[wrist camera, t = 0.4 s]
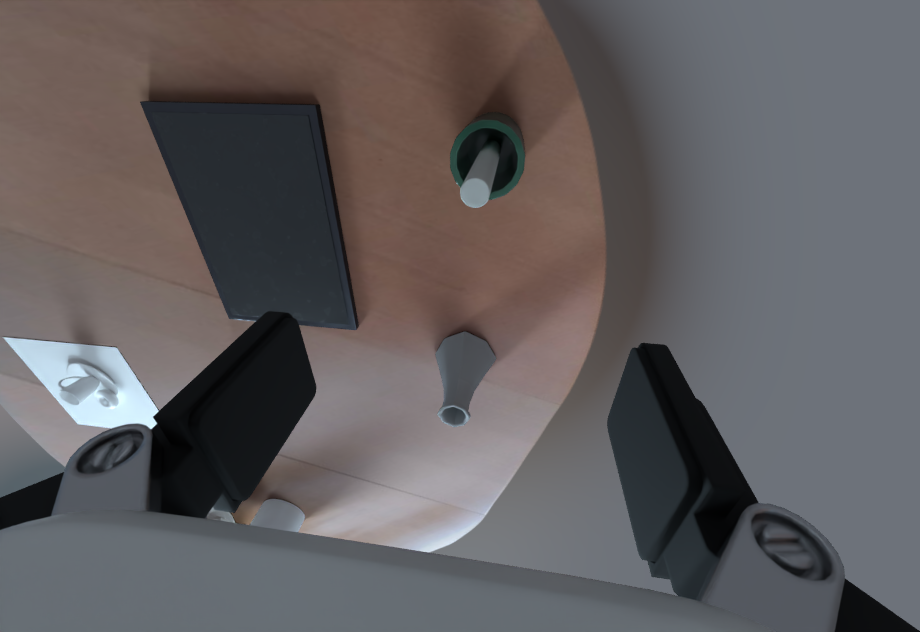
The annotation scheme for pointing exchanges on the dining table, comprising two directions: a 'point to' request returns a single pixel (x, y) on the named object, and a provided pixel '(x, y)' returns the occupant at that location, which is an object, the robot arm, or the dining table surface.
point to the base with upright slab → (279, 516)
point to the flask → (461, 374)
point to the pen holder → (474, 139)
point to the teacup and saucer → (88, 382)
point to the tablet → (260, 206)
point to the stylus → (481, 175)
